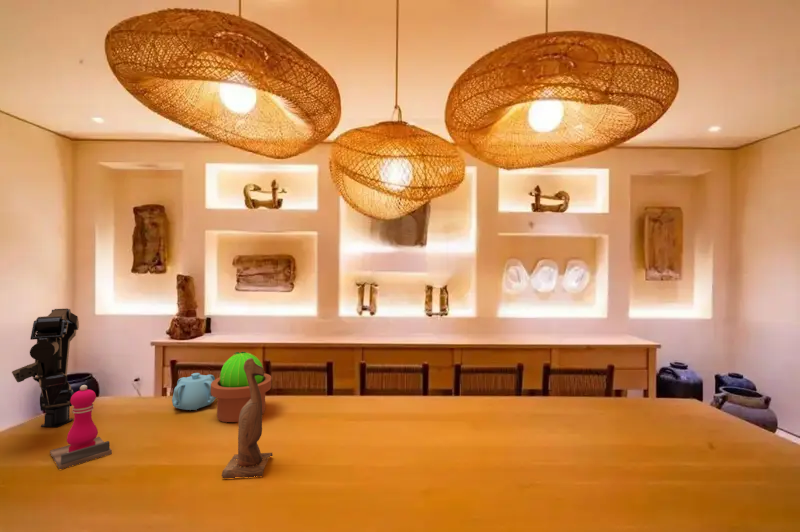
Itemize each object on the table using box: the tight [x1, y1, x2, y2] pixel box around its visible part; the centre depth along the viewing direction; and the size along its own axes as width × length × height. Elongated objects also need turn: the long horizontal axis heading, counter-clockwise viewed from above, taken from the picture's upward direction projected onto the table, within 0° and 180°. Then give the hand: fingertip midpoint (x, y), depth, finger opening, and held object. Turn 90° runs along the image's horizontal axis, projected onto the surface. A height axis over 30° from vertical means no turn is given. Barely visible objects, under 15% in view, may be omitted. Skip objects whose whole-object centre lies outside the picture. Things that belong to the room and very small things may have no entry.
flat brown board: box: [49, 436, 113, 470], centre depth 114 cm, size 14×12×4 cm
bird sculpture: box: [221, 358, 274, 479], centre depth 107 cm, size 11×12×32 cm
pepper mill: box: [66, 384, 99, 452], centre depth 113 cm, size 7×7×20 cm
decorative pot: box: [171, 372, 217, 411], centre depth 154 cm, size 16×16×14 cm
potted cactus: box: [211, 351, 272, 423], centre depth 146 cm, size 22×22×25 cm
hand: (48, 401), depth 122 cm, fingers open, 9 cm apart
